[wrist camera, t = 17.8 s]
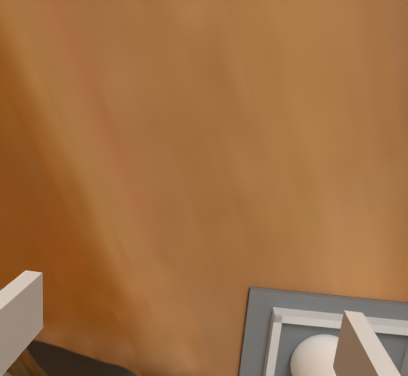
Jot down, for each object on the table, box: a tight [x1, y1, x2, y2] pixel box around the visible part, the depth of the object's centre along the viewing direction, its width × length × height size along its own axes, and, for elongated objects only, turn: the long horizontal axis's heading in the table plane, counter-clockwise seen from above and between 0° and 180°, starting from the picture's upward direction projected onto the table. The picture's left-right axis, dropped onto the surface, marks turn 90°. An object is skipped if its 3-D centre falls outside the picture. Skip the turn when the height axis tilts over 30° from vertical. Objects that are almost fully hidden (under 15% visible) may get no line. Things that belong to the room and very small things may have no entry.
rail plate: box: [238, 287, 408, 376], centre depth 46 cm, size 24×18×2 cm
